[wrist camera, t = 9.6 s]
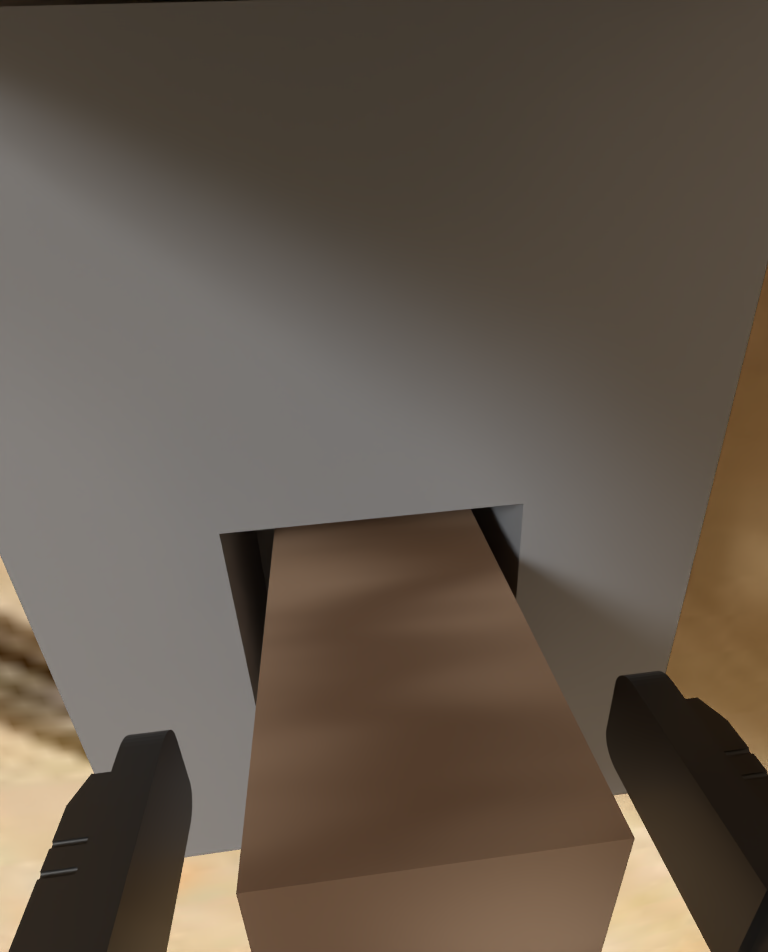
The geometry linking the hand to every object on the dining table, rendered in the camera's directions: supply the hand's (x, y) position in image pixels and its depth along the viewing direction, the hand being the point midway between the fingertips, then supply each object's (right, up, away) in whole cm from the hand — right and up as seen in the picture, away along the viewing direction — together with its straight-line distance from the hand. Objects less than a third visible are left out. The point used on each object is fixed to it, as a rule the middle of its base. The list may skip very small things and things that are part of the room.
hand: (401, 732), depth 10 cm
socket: (-1, +5, +6) cm, 8 cm away
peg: (-1, +3, +6) cm, 7 cm away
